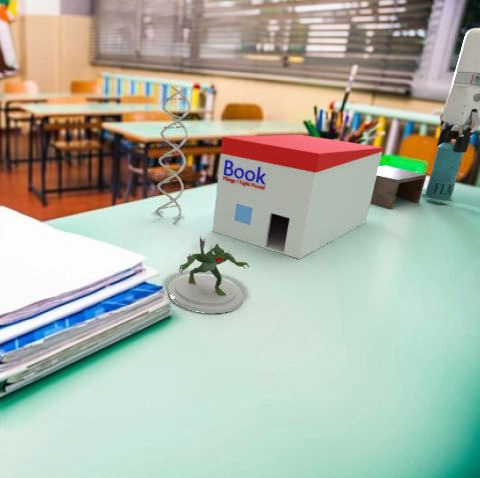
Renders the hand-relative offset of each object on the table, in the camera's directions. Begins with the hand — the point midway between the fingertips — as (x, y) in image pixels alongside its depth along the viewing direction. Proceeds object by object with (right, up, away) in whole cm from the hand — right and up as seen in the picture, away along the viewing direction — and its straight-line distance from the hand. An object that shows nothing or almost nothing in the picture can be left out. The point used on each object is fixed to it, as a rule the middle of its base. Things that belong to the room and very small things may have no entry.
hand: (451, 148), depth 133 cm
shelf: (-15, -13, +6) cm, 21 cm away
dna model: (-78, -20, -18) cm, 83 cm away
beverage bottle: (-1, -14, +6) cm, 15 cm away
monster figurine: (-76, -34, -52) cm, 98 cm away
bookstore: (-50, -22, -19) cm, 57 cm away
